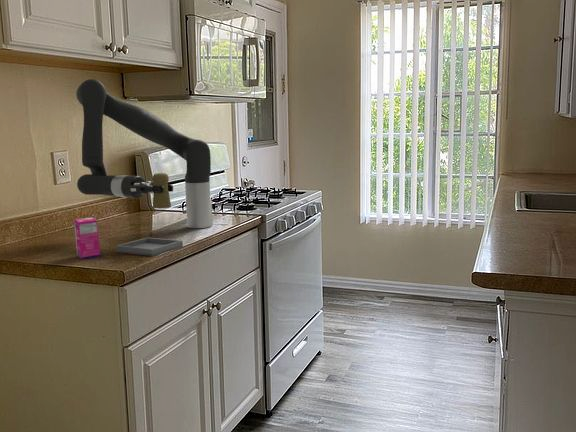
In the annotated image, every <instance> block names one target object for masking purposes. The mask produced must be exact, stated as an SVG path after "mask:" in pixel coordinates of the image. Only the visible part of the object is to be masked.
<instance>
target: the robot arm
mask: <svg viewBox="0 0 576 432" xmlns="http://www.w3.org/2000/svg"><path fill="white" fill-rule="evenodd" d="M75 94H76V95H75V96H76V99H77V101H78V102H79V104H80V105H81V106H82V110H83V128H82V137H81V138H82V139H81V163H82V166H83V167H85V168H88V169H89V170H90V172H91V173H90V174H87V173H86V174H84V175H83V174H82V175H81V176H80V177H79V178H78V179H77V183H76V187H77V189H78V191H79V192H80V193H81V194H83V195H89V196H90V195H91V196H92V195H93V196H98V195H104V196H111V197H119V198H128V199H140V198H143V196H144V195H151V194H154V193H164V186H154V182H153V181H151V180H146V181H145V179H144V178H143V176H141V175H131V174H129V175H126V174H123V175H112V174H111V175H107V172H106V166H105V164H104V141H103V139H104V138H103V119H104V116H105V117H108V118H110V119H111V120H113V121H115V122H116V123H118V124H119V125H121V126H122V127H124V128H126V129H128V130H129V131H131V132H132V133H134V134H136V135H138V136H140V137H142V138H144V139H146V140H148V141H150V142H151V143H155V145H159V146H162V147H164V148H166V149H169V150H170V151H171V152H173V153H174V154H176V155H178V156H179V157H181V158H182V159H184V160H185V161H186V162H185V163H186V172H185V176H184V183H185V187H184V189H185V203H186V204H185V205H186V206H185V207H186V225H187V226H186V227H187V228H189V229H207V228H211V227H212V226H213V222H214V221H213V203H212V200H211V185H210V184H211V182H210V181H211V180H210V178H211V171H212V169H211V168H212V167H211V166H212V165H211V164H212V161H211V159H212V158H211V150H210V149H211V148H210V147H209V144H208V143H207V142H205V141H204V140H202V139H195V138H192V137H190V136H188V135H185V134H183V133H181V132H178V130H176V129H174V128H173V127H172V126H171V125H169V124H168V122H166V121H164V120H163V119H162V118H160V117H158V116H157V115H155V114H154V113H152V112H150V111H149V110H146V109H145V108H143V107H140V106H137V105H134V104H131V103H129V102H125V101H123V100H119V99H118V98H116V97H115V96H113V95H111V94H109V93H108V92H107V89H106V87H105V85H104V84H103V83H102V82H101V81H100V80H98V79H96V78H90V79H86V80H84V81H83V82H81V84H80V85H79V86H78V87H77V89H76V93H75ZM167 185H168V191H169V193H171V192H174V185H173V184H170V183H169V184H168V183H167Z"/></svg>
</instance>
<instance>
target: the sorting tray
mask: <svg viewBox="0 0 576 432" xmlns="http://www.w3.org/2000/svg"><path fill="white" fill-rule="evenodd" d="M183 241H184V240H180V239H170V238H169V239H168V238H158V237H143V238H140V239H136V240H133V241H130V242H125V243H122V244H118V245H116V246H115V248H116V251H115V252H116V253H124V254H131V255H140V256H149V257H154V256H157V255H158V256H159V255H160V254H164V253H166V252H171V251H173V250H176V249H179V248H180V249H181V248H183V247H184V245H183V243H184V242H183Z"/></svg>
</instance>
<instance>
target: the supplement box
mask: <svg viewBox="0 0 576 432" xmlns="http://www.w3.org/2000/svg"><path fill="white" fill-rule="evenodd" d="M73 224H74V234H75V235H74V236H75V237H74V238H75V245H76V246H75V247H76V255H77V257H78V258H80V259H81V260H87V259H94V258H100V257H101V251H100V250H101V247H100V240H99V227H98V220H97V219H95V218H93V217H87V218H76V219H73ZM93 257H94V258H93ZM86 258H87V259H86Z"/></svg>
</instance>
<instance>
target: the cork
mask: <svg viewBox="0 0 576 432" xmlns="http://www.w3.org/2000/svg"><path fill="white" fill-rule="evenodd" d="M151 178H152V179H151V180H152V182H154V186H164V193H153V198H152V208H153V209H169V208H172V202H171V197H170V192H169V191H168V185H167V184H168V183H169V179H170V177H169V175H168V174H167V173H166V172H165V173H163V172H159V173H155V174H153V175H152V177H151Z"/></svg>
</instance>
